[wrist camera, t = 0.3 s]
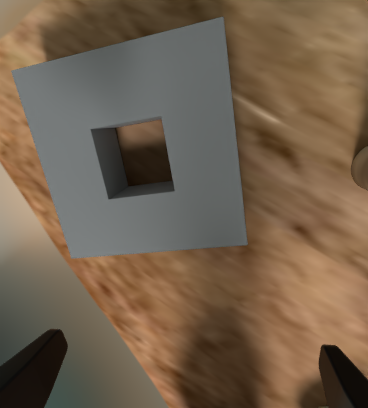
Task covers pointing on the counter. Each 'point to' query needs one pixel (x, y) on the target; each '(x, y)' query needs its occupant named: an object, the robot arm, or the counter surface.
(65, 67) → the socket block
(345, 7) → the counter surface
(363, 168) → the long pin
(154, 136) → the counter surface
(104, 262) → the counter surface
